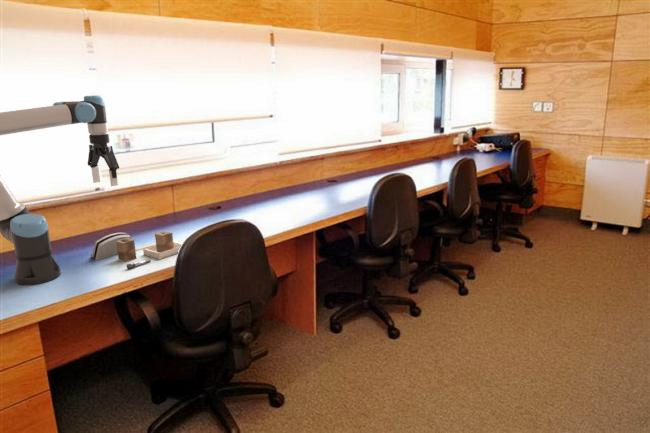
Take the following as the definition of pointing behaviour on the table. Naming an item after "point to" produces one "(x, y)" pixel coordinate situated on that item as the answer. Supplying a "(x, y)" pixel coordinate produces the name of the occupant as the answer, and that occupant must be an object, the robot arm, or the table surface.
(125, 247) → the block
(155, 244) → the pencil
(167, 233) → the block
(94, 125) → the robot arm
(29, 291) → the table surface
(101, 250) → the napkin holder
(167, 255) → the tray
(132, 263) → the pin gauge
